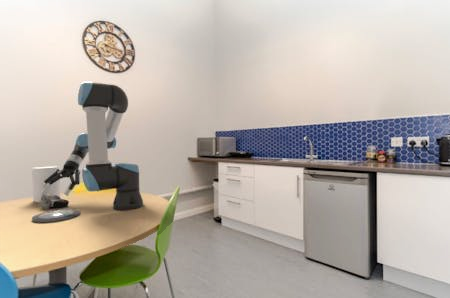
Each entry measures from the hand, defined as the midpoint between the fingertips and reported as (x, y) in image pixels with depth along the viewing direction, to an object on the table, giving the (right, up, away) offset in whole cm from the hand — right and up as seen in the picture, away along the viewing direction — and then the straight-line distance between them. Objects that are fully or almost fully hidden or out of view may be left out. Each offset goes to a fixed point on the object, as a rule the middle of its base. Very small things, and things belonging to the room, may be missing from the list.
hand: (54, 194), depth 140 cm
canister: (-17, -7, +19) cm, 26 cm away
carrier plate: (+13, -7, -18) cm, 24 cm away
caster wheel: (+1, -7, 0) cm, 7 cm away
